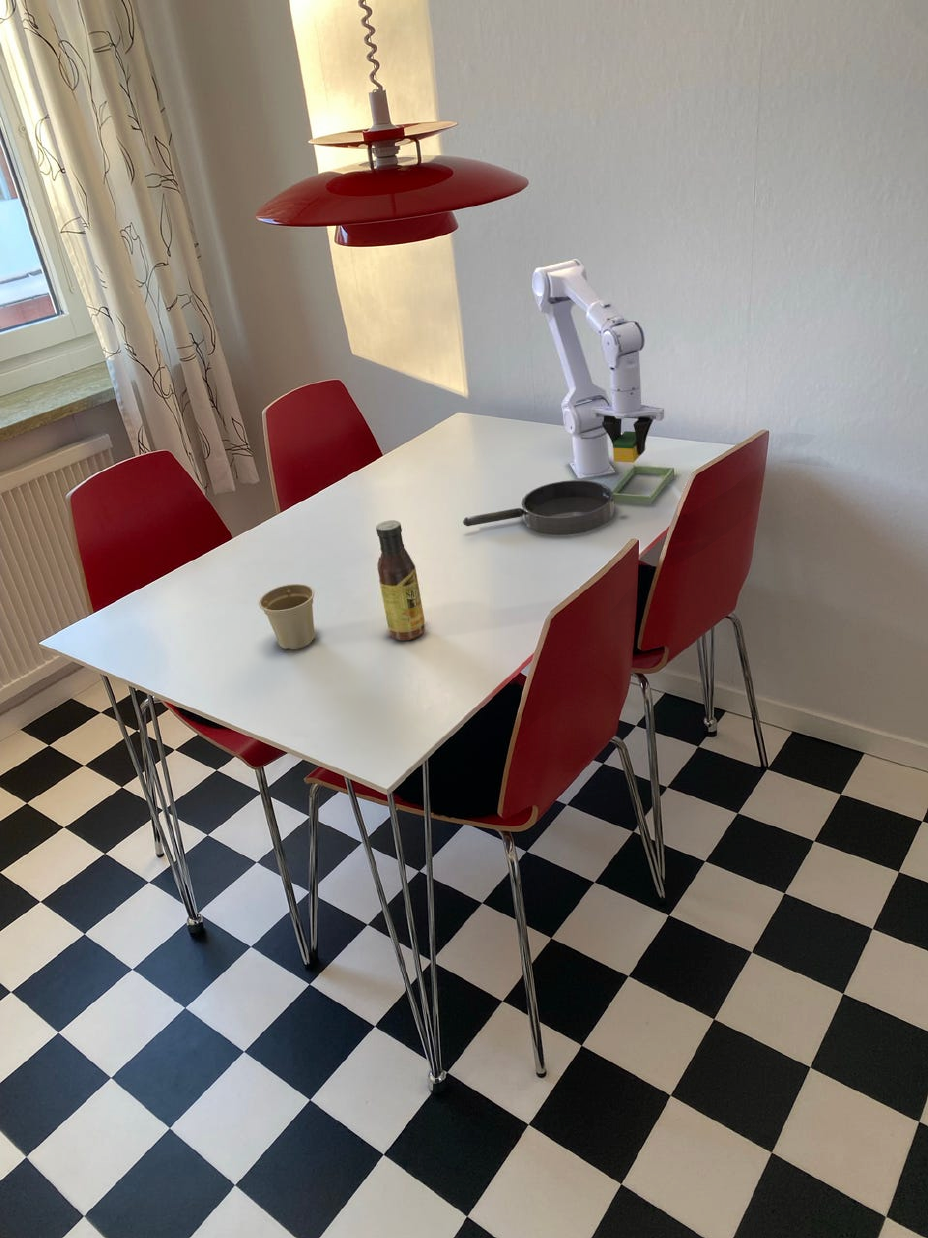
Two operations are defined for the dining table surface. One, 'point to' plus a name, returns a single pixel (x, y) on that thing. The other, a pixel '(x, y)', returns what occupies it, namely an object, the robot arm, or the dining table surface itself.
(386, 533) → the sauce bottle
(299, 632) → the flower pot
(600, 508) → the pan
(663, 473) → the sponge tray
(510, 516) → the pan handle
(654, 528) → the dining table surface
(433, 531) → the dining table surface
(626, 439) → the sponge
